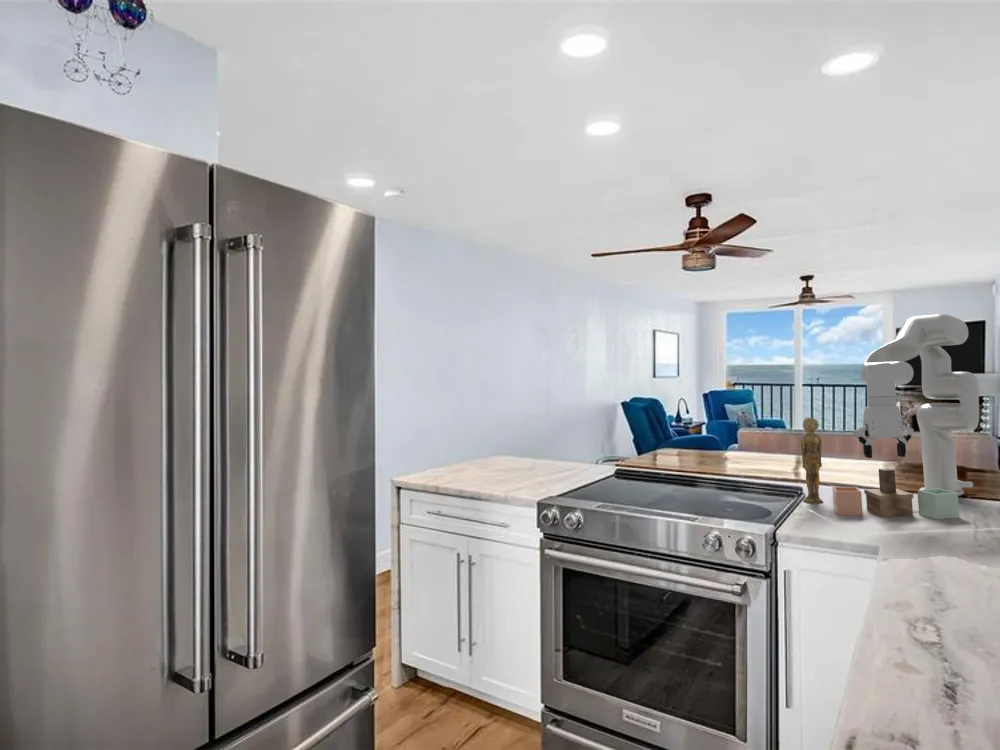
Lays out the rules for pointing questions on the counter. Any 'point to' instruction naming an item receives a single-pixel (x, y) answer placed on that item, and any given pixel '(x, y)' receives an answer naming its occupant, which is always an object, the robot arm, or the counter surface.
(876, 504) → the box
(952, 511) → the box
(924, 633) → the counter surface
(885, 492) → the lid
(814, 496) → the sculpture
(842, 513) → the canister terracotta
